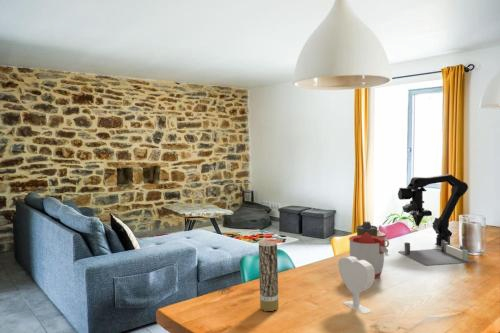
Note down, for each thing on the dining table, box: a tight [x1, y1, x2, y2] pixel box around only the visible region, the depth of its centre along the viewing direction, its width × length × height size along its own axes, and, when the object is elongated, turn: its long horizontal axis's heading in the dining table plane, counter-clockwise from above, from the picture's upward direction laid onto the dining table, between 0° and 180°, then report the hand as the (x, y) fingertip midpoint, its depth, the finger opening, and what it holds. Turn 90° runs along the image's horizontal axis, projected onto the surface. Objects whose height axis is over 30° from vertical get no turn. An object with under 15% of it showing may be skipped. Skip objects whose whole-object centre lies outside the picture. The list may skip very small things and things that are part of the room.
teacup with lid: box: [377, 228, 390, 248], centre depth 226 cm, size 12×9×12 cm
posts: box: [404, 240, 466, 255], centre depth 211 cm, size 26×14×6 cm, turn 99°
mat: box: [398, 248, 477, 267], centre depth 211 cm, size 27×26×1 cm
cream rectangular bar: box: [444, 242, 469, 261], centre depth 209 cm, size 18×2×5 cm, turn 6°
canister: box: [356, 221, 378, 236], centre depth 208 cm, size 11×10×20 cm
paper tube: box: [258, 239, 279, 312], centre depth 149 cm, size 7×7×25 cm
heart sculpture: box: [337, 255, 376, 314], centre depth 149 cm, size 16×5×18 cm, turn 28°
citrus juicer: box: [348, 232, 389, 279], centre depth 183 cm, size 16×17×20 cm
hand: (417, 225), depth 232 cm, fingers closed
